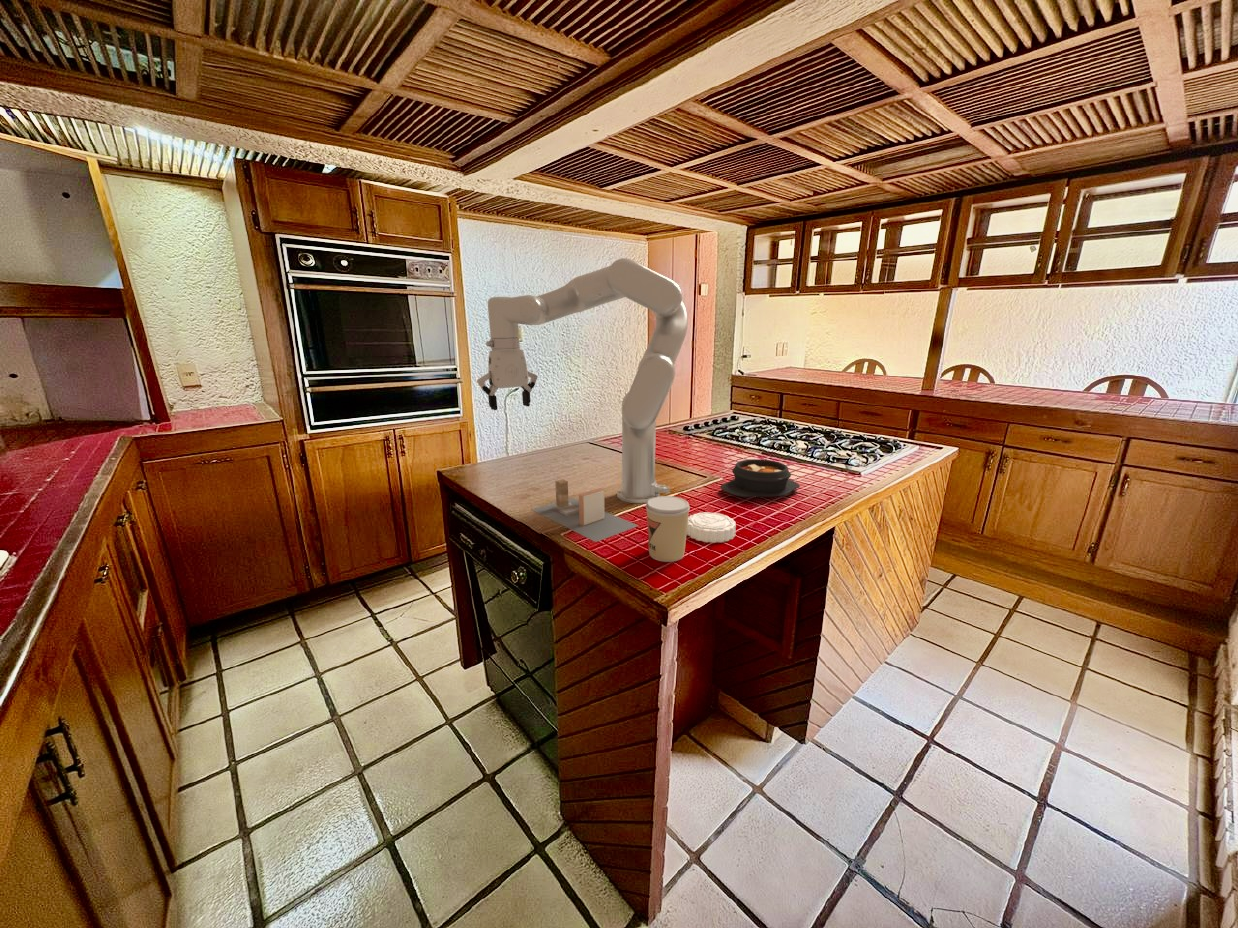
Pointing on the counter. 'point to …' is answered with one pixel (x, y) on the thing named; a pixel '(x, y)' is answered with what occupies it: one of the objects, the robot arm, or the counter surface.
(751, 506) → the counter surface
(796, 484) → the casserole
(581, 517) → the tile
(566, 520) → the mat
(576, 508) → the wooden stand
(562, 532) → the counter surface
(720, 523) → the mooncake
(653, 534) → the coffee cup
